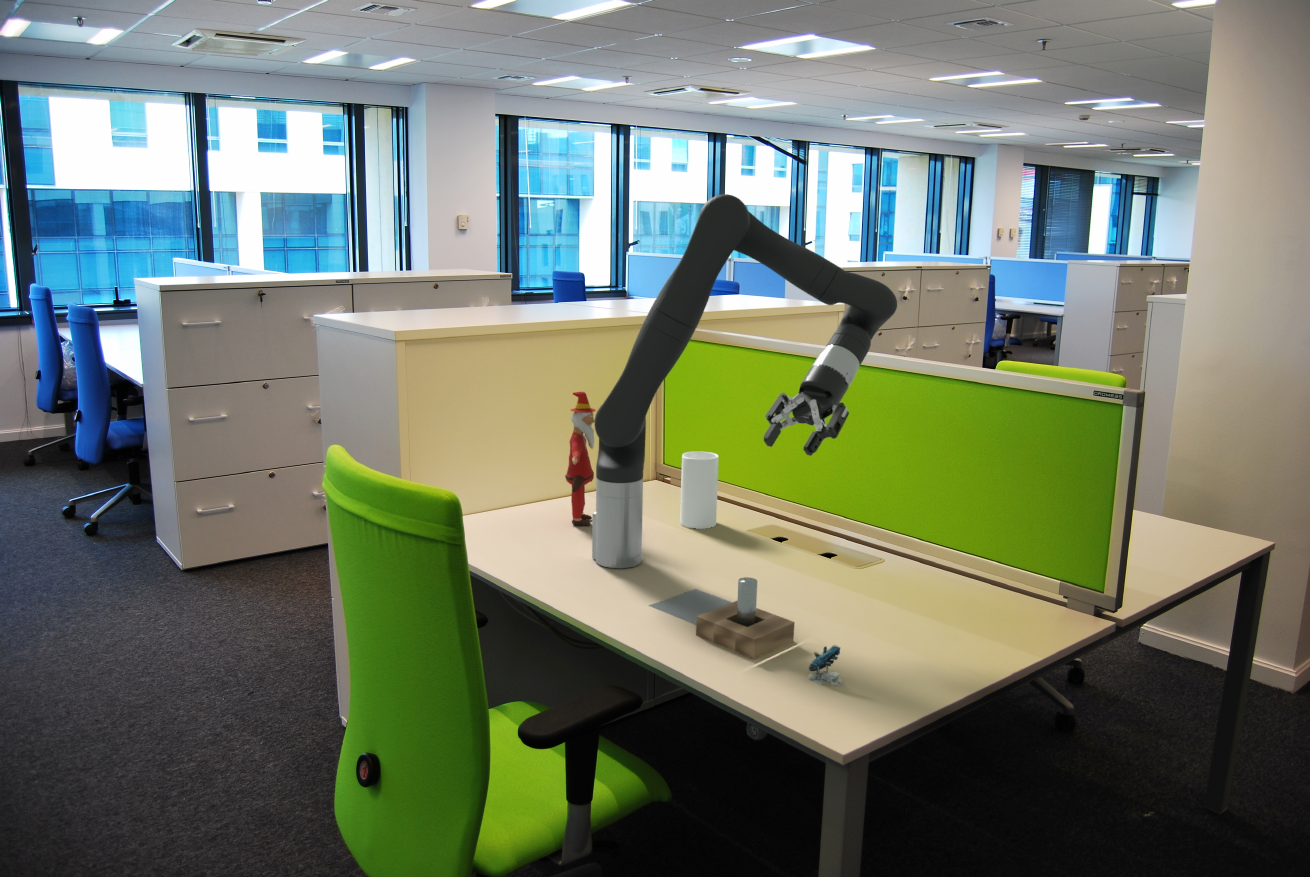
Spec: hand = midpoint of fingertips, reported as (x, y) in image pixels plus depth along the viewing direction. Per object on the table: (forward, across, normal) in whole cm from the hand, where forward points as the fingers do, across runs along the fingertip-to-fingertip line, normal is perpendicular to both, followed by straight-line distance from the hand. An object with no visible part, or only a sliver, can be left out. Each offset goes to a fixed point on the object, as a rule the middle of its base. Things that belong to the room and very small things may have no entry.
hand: (786, 448), depth 157 cm
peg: (+32, +6, +9) cm, 33 cm away
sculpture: (+33, +23, +8) cm, 41 cm away
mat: (+29, -7, +11) cm, 32 cm away
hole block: (+32, +6, +8) cm, 33 cm away
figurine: (+17, -60, +24) cm, 67 cm away
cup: (+3, -42, +38) cm, 56 cm away
